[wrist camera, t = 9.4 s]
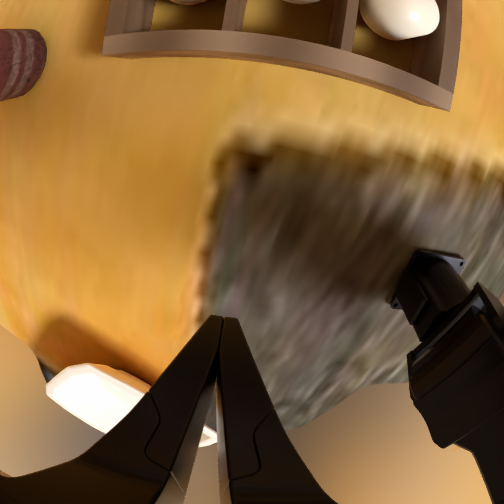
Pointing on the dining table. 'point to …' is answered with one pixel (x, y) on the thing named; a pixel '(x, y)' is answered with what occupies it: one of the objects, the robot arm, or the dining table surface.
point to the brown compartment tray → (299, 48)
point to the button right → (400, 17)
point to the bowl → (103, 396)
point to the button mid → (301, 1)
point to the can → (20, 61)
